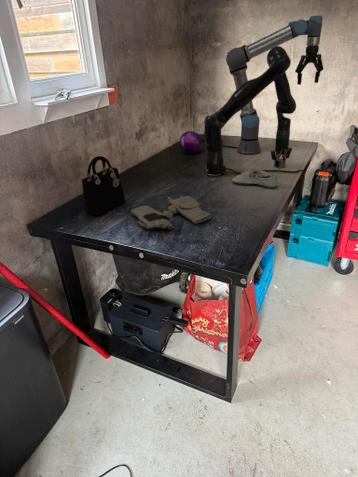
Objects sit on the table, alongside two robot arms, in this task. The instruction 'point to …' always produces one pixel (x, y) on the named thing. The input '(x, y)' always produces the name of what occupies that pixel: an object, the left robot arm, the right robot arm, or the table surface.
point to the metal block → (281, 163)
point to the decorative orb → (190, 142)
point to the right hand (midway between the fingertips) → (307, 83)
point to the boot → (204, 129)
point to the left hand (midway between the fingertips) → (279, 166)
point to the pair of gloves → (170, 213)
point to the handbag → (102, 188)
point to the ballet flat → (256, 179)
